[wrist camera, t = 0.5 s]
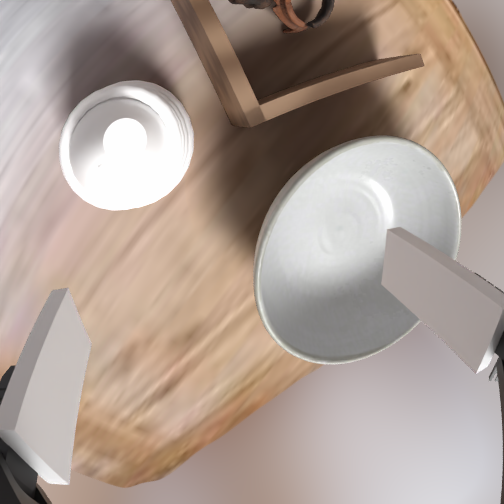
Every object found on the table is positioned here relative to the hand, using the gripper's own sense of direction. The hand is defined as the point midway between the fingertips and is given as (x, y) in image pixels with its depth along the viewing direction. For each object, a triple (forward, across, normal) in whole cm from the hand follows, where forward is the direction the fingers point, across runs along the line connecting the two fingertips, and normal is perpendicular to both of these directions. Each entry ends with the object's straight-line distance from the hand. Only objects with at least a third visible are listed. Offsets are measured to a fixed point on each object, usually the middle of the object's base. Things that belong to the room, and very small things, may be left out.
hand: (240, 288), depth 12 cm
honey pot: (+26, -6, +5) cm, 28 cm away
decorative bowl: (+26, +17, -10) cm, 33 cm away
